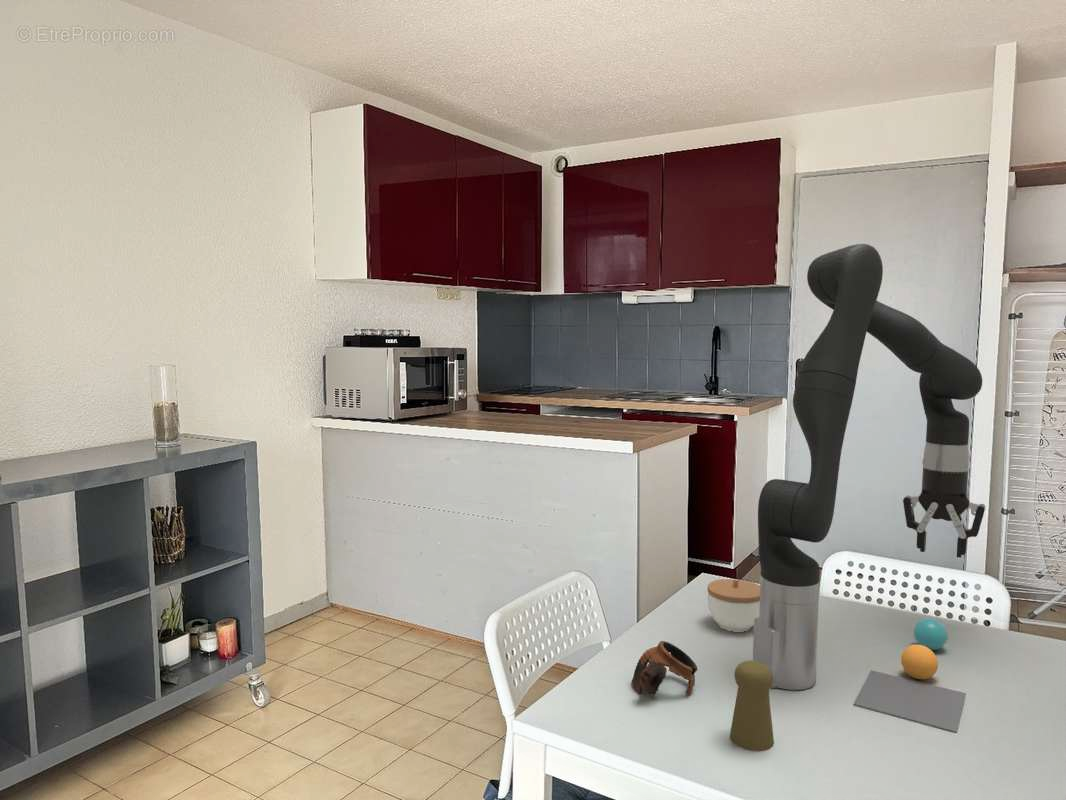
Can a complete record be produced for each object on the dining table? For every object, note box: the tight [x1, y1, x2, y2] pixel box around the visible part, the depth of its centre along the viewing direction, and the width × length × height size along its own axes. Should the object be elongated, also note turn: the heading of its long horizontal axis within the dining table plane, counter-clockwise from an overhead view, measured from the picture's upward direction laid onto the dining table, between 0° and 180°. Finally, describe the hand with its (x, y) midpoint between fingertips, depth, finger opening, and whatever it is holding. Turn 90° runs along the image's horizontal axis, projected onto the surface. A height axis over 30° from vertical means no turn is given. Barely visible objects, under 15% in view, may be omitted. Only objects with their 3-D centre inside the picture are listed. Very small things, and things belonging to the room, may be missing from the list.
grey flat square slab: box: [853, 670, 967, 734], centre depth 117 cm, size 14×14×1 cm
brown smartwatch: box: [631, 640, 698, 696], centre depth 119 cm, size 12×10×8 cm
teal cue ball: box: [913, 618, 948, 651], centre depth 135 cm, size 6×6×6 cm
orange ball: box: [900, 644, 939, 680], centre depth 124 cm, size 6×6×6 cm
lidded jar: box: [707, 578, 760, 633], centre depth 145 cm, size 11×11×9 cm
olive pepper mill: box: [729, 660, 775, 752], centre depth 105 cm, size 6×6×11 cm
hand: (940, 553), depth 142 cm, fingers open, 5 cm apart
